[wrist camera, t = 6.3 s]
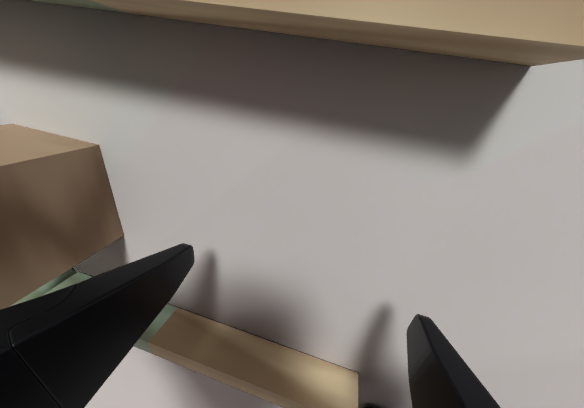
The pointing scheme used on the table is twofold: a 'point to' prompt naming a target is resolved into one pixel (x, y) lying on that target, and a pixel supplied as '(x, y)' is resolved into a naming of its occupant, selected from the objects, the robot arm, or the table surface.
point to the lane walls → (357, 29)
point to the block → (50, 208)
